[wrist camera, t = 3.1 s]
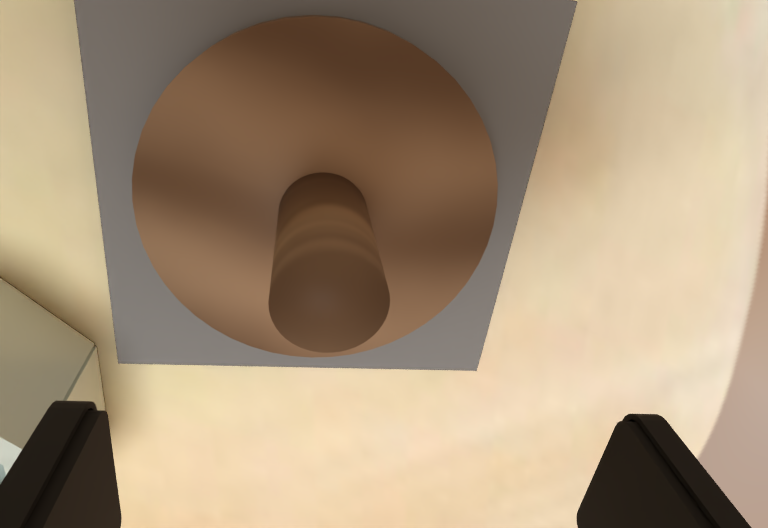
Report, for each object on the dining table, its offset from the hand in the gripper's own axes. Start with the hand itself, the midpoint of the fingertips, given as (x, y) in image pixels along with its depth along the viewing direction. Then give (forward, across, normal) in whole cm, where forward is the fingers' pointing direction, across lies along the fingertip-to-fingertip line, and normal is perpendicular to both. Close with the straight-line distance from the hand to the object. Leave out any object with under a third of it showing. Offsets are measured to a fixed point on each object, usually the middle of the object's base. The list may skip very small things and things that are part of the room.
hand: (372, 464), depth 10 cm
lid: (+12, +1, 0) cm, 12 cm away
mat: (+13, +1, 0) cm, 13 cm away
